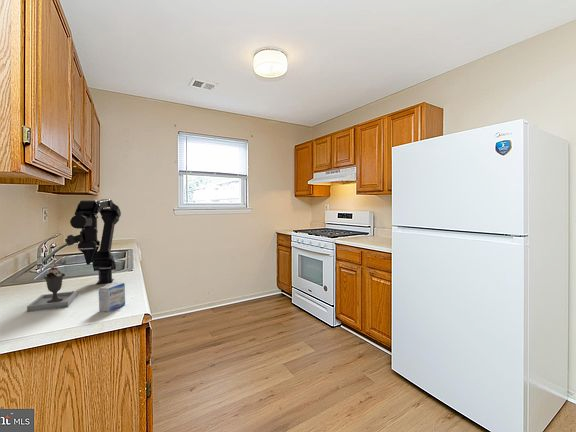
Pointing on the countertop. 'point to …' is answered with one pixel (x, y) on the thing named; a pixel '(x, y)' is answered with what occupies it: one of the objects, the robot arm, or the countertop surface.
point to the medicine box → (111, 297)
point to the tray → (43, 305)
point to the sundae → (54, 283)
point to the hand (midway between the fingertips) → (89, 263)
